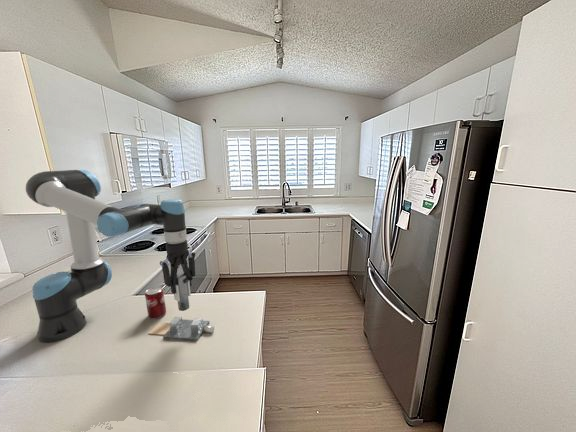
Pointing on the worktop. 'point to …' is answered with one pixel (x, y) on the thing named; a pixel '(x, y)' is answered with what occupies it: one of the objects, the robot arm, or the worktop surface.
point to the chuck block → (187, 329)
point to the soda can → (155, 302)
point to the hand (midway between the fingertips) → (182, 297)
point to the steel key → (182, 292)
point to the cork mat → (160, 329)
